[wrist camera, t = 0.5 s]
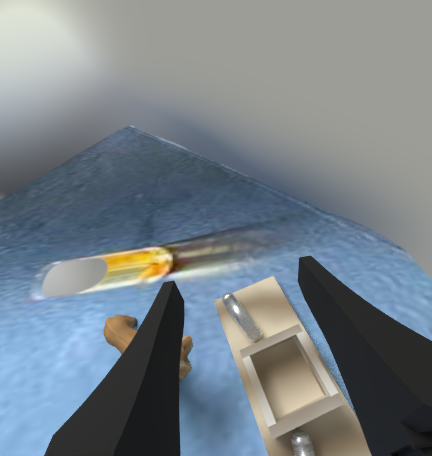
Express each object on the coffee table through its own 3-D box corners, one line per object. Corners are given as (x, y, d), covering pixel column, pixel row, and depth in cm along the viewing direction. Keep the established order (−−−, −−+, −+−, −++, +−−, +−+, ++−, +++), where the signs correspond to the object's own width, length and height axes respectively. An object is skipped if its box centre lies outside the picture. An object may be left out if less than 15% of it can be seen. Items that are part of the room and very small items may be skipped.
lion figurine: (211, 348, 26) (193, 335, 19) (195, 399, 23) (167, 405, 16) (122, 312, 31) (82, 290, 24) (100, 350, 28) (47, 339, 21)
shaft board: (399, 498, 17) (430, 523, 14) (303, 550, 16) (313, 589, 13) (272, 280, 30) (274, 267, 27) (215, 304, 29) (210, 294, 26)
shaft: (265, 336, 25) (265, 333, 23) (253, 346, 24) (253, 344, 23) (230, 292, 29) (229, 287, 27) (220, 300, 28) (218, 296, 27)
